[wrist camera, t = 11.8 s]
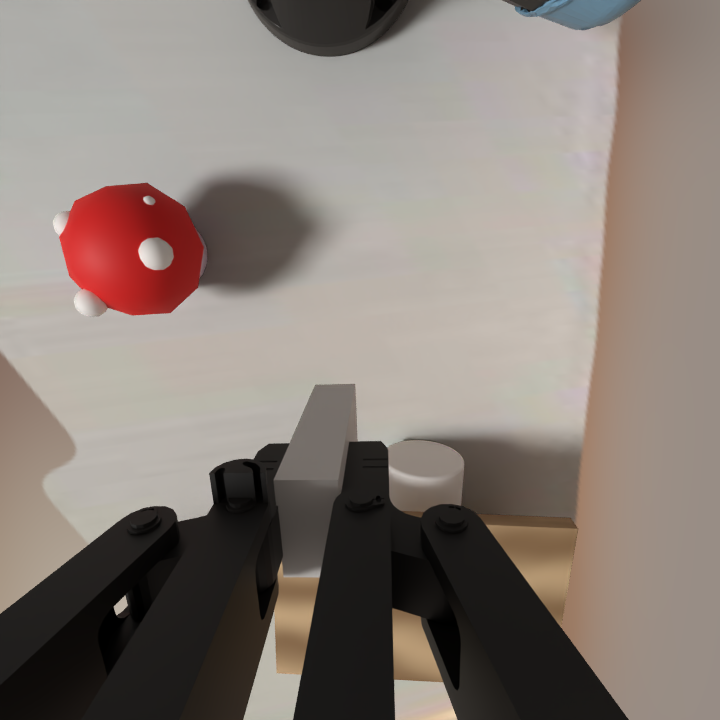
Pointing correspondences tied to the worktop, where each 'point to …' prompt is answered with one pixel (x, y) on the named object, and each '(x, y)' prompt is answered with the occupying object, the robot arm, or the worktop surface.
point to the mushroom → (130, 250)
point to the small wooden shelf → (410, 646)
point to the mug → (424, 475)
